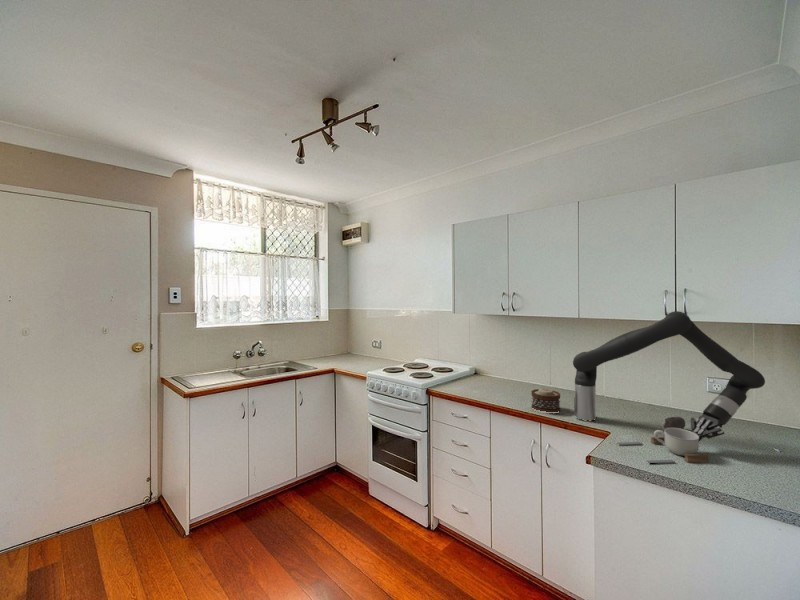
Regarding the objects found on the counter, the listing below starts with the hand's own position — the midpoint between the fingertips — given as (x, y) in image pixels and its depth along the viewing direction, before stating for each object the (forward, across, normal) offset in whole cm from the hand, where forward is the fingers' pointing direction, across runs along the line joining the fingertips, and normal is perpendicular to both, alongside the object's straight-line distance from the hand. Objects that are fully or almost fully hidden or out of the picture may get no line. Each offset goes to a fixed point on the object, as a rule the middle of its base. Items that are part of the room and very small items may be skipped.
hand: (692, 441), depth 138 cm
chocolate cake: (+26, -54, -20) cm, 63 cm away
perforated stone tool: (-4, -19, +10) cm, 22 cm away
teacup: (+8, 0, -2) cm, 8 cm away
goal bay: (+17, 0, -12) cm, 20 cm away
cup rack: (+7, 0, -2) cm, 7 cm away
